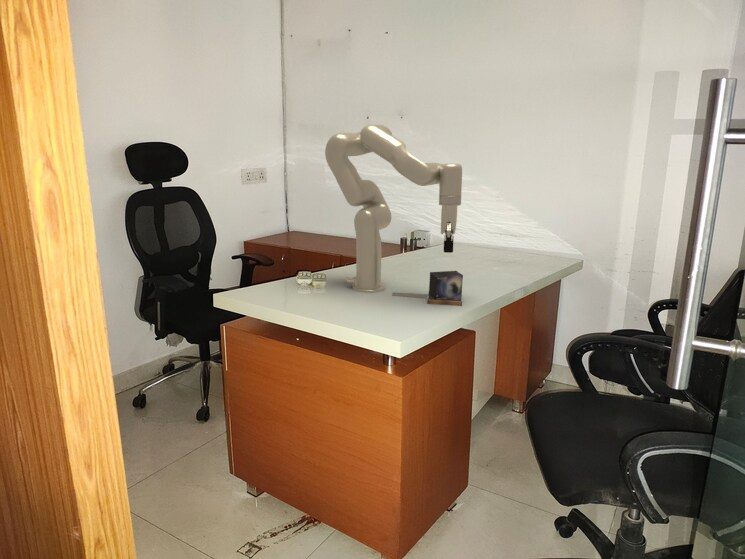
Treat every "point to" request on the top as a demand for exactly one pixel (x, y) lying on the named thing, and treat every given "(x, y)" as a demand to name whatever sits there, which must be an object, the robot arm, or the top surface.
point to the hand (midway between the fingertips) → (448, 249)
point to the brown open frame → (444, 302)
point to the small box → (445, 286)
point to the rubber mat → (410, 295)
